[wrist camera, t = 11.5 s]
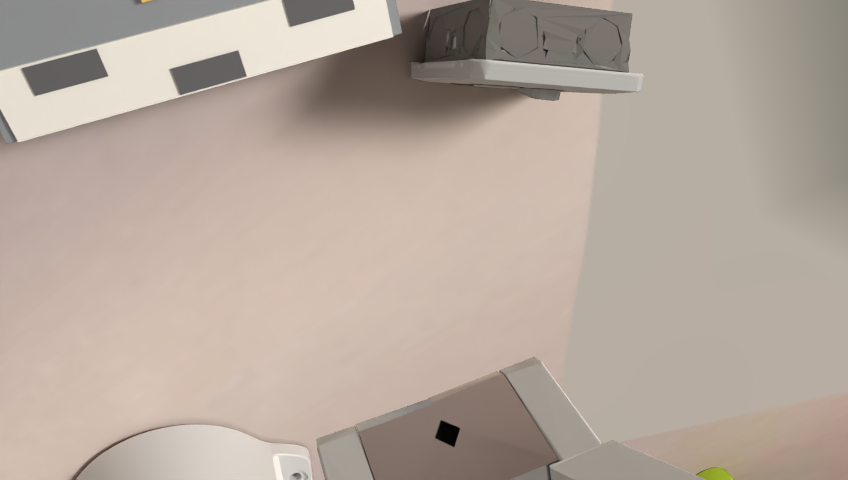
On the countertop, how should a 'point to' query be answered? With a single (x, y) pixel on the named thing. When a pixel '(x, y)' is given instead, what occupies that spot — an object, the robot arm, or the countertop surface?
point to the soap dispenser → (715, 474)
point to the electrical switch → (529, 48)
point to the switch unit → (159, 51)
